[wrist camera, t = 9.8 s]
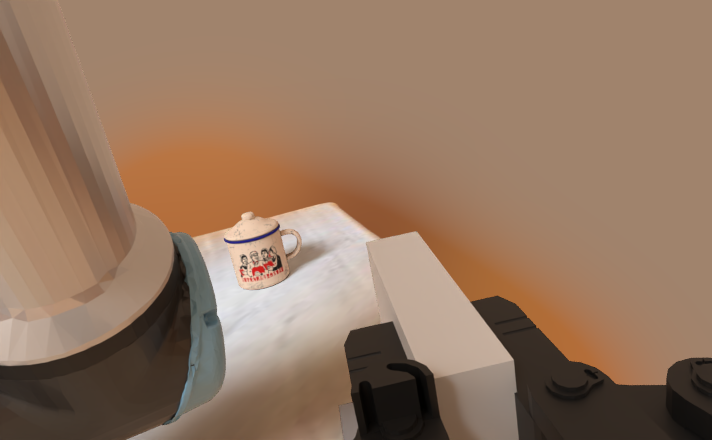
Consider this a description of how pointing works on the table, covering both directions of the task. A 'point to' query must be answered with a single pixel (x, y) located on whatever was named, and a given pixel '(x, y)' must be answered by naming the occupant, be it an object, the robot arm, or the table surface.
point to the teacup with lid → (259, 251)
